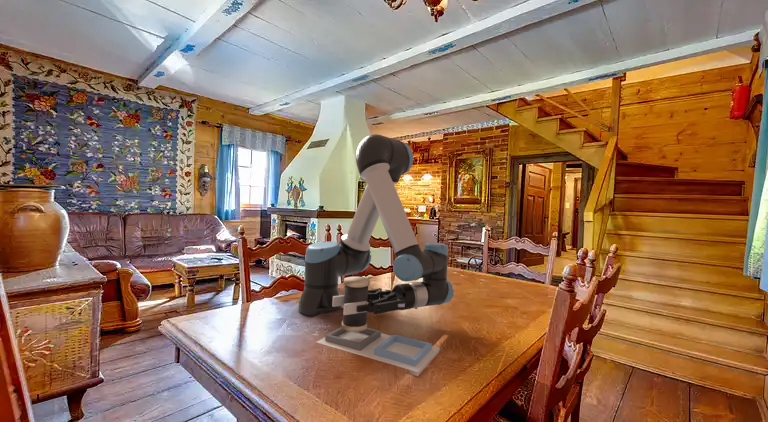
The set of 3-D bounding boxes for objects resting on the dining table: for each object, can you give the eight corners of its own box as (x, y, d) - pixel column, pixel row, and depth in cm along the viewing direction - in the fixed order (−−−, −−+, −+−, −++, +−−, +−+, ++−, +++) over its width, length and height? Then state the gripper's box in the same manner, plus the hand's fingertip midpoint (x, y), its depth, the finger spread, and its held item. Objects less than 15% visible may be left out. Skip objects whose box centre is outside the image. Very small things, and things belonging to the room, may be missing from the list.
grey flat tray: (315, 345, 89) (316, 336, 89) (347, 328, 103) (348, 319, 103) (417, 376, 76) (418, 365, 76) (439, 351, 89) (439, 342, 89)
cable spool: (336, 327, 91) (338, 279, 91) (350, 320, 97) (353, 275, 97) (358, 333, 88) (360, 284, 87) (371, 325, 94) (374, 279, 93)
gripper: (428, 318, 94) (354, 332, 82) (390, 299, 110) (323, 308, 98) (430, 292, 93) (355, 302, 81) (391, 276, 110) (325, 282, 98)
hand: (338, 305), depth 90 cm, fingers closed on cable spool, 6 cm apart
